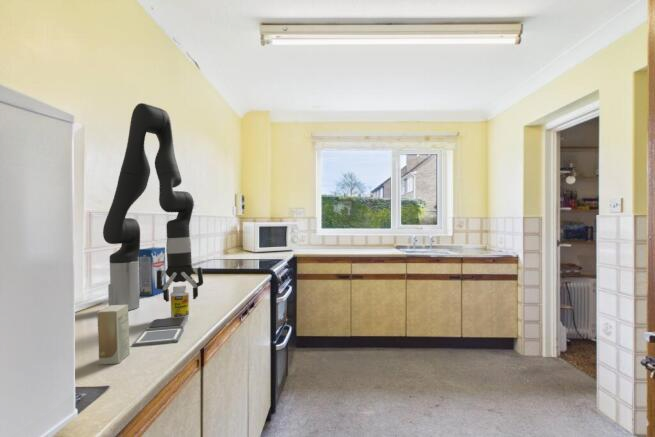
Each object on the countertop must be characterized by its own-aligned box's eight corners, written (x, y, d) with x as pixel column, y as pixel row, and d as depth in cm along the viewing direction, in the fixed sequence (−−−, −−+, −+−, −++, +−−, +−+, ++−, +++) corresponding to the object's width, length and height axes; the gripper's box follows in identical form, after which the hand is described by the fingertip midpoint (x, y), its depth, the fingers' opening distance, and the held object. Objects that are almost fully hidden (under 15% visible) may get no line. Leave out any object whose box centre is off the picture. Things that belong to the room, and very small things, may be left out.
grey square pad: (132, 346, 95) (132, 343, 95) (142, 334, 105) (142, 331, 105) (177, 342, 98) (177, 339, 98) (183, 330, 108) (183, 328, 107)
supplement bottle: (173, 320, 119) (172, 288, 119) (169, 316, 124) (168, 286, 123) (191, 317, 122) (190, 286, 122) (187, 313, 127) (186, 284, 127)
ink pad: (145, 332, 107) (145, 328, 107) (154, 322, 116) (153, 318, 116) (182, 329, 109) (182, 324, 109) (187, 320, 119) (187, 316, 119)
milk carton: (153, 291, 167) (152, 247, 167) (166, 291, 166) (165, 247, 166) (139, 296, 157) (137, 249, 157) (152, 296, 156) (151, 249, 156)
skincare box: (111, 354, 90) (110, 304, 90) (130, 353, 90) (129, 303, 90) (97, 365, 83) (96, 311, 83) (117, 364, 84) (116, 310, 84)
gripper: (202, 249, 128) (204, 295, 128) (158, 251, 125) (160, 299, 125) (200, 250, 121) (202, 300, 121) (153, 253, 117) (155, 304, 117)
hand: (181, 300), depth 123 cm, fingers open, 8 cm apart
